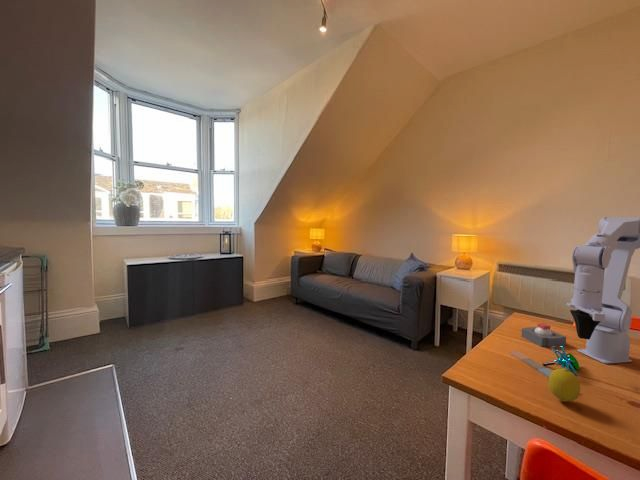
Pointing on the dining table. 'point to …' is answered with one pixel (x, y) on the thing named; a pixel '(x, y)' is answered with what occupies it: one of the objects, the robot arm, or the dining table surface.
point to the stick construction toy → (565, 361)
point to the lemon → (564, 385)
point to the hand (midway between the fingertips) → (583, 338)
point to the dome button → (543, 329)
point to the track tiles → (531, 363)
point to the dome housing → (543, 338)
